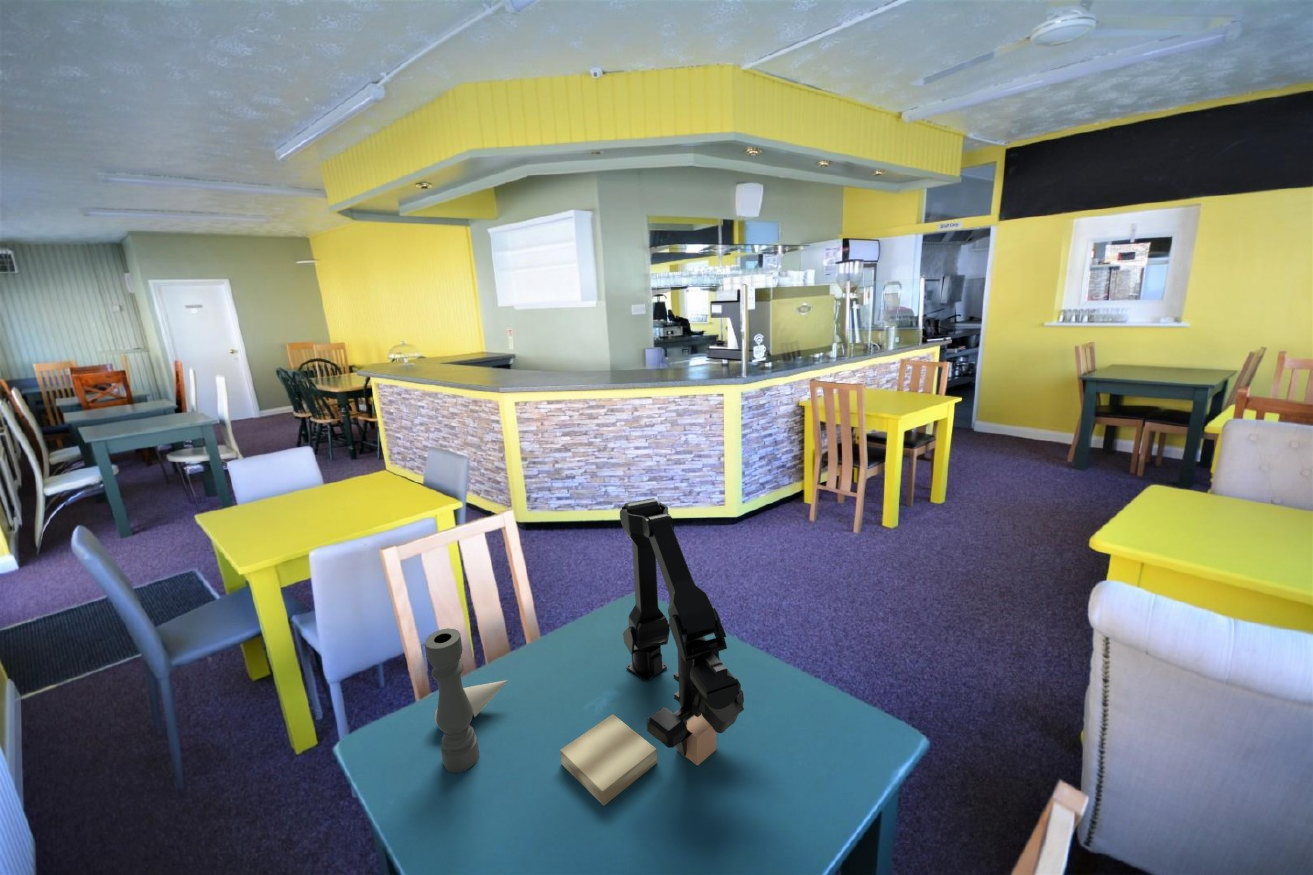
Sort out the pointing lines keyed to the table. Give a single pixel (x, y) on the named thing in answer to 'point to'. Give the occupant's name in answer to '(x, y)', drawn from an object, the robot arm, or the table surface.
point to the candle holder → (452, 701)
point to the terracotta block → (700, 740)
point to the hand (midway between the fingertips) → (696, 743)
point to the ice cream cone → (481, 695)
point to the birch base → (608, 758)
